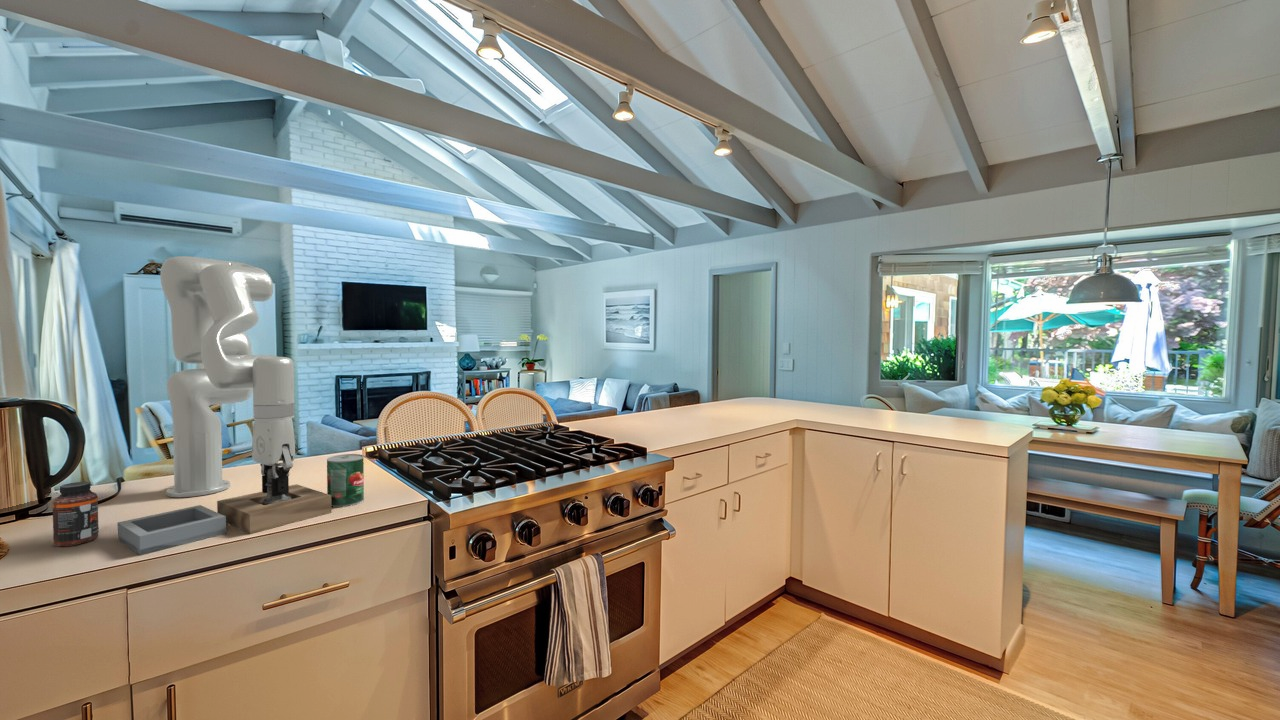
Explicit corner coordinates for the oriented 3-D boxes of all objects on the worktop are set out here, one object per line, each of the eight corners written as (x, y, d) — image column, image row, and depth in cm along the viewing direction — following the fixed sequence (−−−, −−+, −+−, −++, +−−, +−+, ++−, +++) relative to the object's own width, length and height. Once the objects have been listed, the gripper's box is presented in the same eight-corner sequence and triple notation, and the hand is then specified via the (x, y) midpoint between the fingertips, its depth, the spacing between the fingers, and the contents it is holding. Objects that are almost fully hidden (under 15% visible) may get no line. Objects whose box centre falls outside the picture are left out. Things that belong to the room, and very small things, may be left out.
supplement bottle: (99, 541, 101) (98, 483, 100) (53, 550, 96) (51, 490, 96) (98, 533, 105) (96, 478, 104) (53, 541, 100) (52, 484, 100)
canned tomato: (365, 503, 125) (365, 458, 125) (327, 509, 121) (326, 462, 121) (362, 495, 132) (362, 452, 132) (326, 500, 128) (326, 456, 127)
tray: (117, 540, 101) (117, 522, 101) (200, 520, 112) (200, 505, 112) (140, 555, 95) (139, 536, 94) (226, 533, 106) (225, 516, 105)
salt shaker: (275, 521, 113) (274, 466, 112) (252, 519, 114) (251, 465, 114) (297, 512, 119) (297, 460, 118) (276, 510, 120) (275, 459, 119)
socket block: (217, 518, 114) (217, 500, 114) (296, 500, 127) (296, 484, 127) (250, 534, 105) (249, 514, 105) (331, 512, 119) (331, 495, 119)
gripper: (238, 410, 117) (239, 491, 117) (272, 417, 108) (274, 504, 109) (275, 407, 123) (276, 483, 124) (311, 413, 114) (312, 495, 115)
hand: (275, 492), depth 116 cm, fingers closed on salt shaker, 3 cm apart
